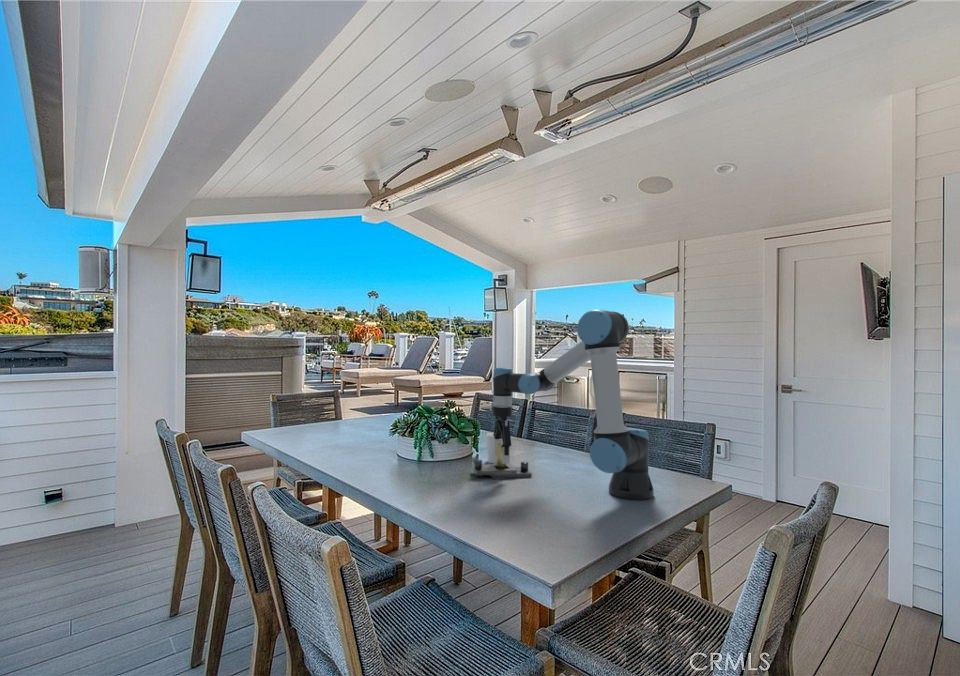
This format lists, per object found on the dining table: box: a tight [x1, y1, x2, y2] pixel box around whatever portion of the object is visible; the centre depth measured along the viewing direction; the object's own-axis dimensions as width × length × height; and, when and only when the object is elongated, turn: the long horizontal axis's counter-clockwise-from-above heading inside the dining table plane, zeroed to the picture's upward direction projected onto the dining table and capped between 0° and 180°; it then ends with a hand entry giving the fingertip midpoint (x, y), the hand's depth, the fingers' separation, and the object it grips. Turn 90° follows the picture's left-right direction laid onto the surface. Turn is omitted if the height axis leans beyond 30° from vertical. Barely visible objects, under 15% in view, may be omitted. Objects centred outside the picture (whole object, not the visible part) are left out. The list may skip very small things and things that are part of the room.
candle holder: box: [486, 432, 503, 464], centre depth 213 cm, size 10×10×12 cm
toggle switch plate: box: [471, 459, 533, 480], centre depth 192 cm, size 22×10×6 cm, turn 101°
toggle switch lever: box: [497, 444, 507, 469], centre depth 192 cm, size 4×4×12 cm
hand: (501, 459), depth 192 cm, fingers open, 13 cm apart
